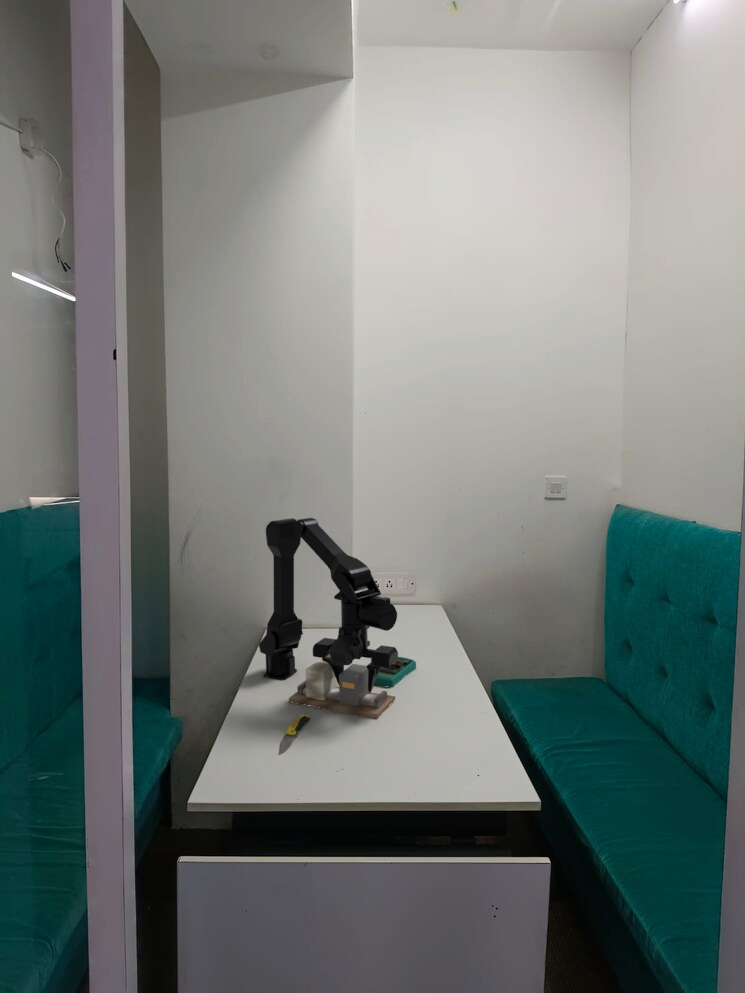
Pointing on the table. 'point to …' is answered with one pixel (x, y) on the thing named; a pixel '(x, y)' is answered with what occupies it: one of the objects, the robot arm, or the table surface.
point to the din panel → (336, 693)
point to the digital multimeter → (395, 672)
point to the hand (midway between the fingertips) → (355, 688)
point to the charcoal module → (353, 684)
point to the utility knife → (293, 732)
